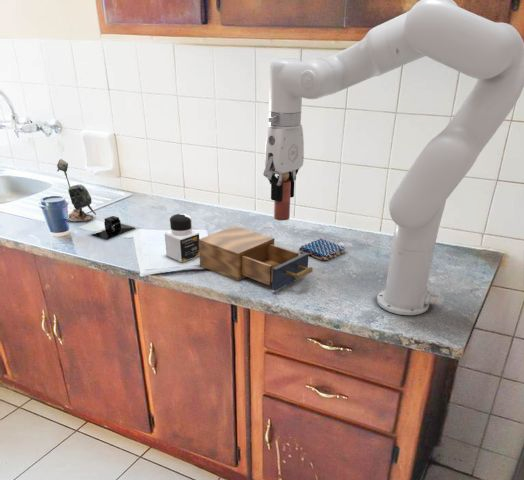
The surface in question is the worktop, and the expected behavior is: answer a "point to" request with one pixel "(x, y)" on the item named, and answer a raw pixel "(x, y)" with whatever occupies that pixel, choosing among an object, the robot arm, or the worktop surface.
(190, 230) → the medicine bottle
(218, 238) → the cabinet
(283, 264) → the drawer
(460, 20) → the robot arm
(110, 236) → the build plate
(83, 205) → the bird figurine
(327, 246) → the woven mat
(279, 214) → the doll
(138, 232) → the worktop surface
